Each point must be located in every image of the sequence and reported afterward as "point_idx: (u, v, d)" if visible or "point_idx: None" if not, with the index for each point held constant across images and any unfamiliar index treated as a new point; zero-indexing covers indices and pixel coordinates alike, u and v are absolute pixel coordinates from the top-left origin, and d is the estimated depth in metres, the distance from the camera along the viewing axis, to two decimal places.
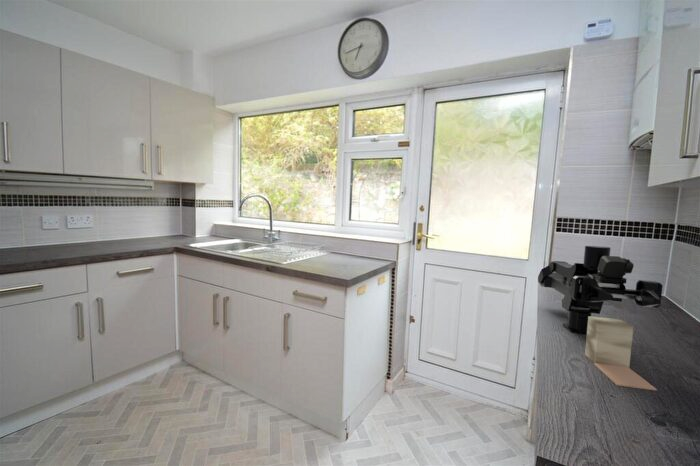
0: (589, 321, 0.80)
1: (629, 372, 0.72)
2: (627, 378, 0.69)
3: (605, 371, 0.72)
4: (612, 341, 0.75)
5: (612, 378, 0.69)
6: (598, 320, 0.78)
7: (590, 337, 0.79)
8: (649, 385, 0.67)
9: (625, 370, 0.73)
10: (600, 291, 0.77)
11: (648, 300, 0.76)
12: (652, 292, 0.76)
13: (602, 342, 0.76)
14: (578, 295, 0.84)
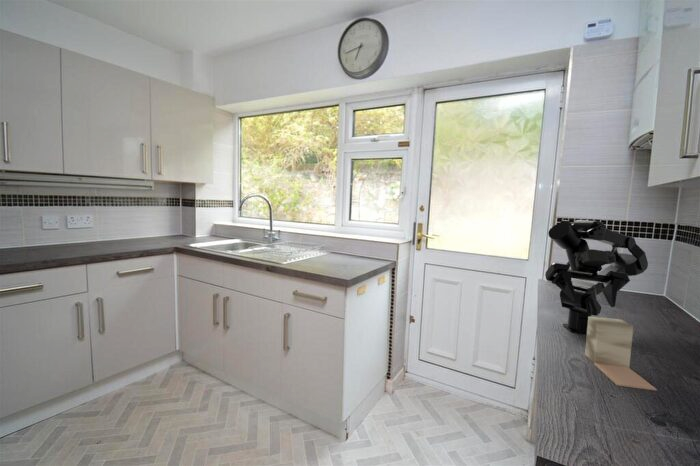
0: (589, 321, 0.80)
1: (629, 372, 0.72)
2: (627, 378, 0.69)
3: (605, 371, 0.72)
4: (612, 341, 0.75)
5: (612, 378, 0.69)
6: (598, 320, 0.78)
7: (590, 337, 0.79)
8: (649, 385, 0.67)
9: (625, 370, 0.73)
10: (569, 288, 0.86)
11: (607, 295, 0.86)
12: (614, 291, 0.84)
13: (602, 342, 0.76)
14: None
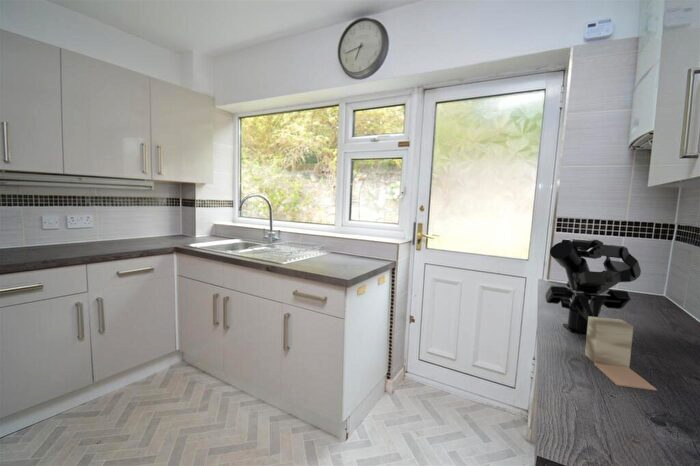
0: (589, 321, 0.80)
1: (629, 372, 0.72)
2: (627, 378, 0.69)
3: (605, 371, 0.72)
4: (612, 341, 0.75)
5: (612, 378, 0.69)
6: (598, 320, 0.78)
7: (590, 337, 0.79)
8: (649, 385, 0.67)
9: (625, 370, 0.73)
10: (587, 313, 0.86)
11: None
12: (596, 309, 0.85)
13: (602, 342, 0.76)
14: None
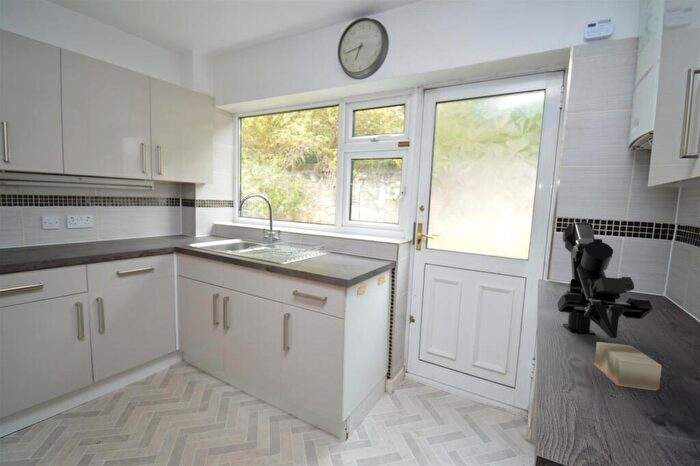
0: (618, 362, 0.68)
1: None
2: None
3: None
4: None
5: (612, 378, 0.69)
6: (625, 374, 0.67)
7: (608, 359, 0.71)
8: None
9: None
10: (605, 324, 0.77)
11: None
12: (615, 320, 0.77)
13: None
14: None
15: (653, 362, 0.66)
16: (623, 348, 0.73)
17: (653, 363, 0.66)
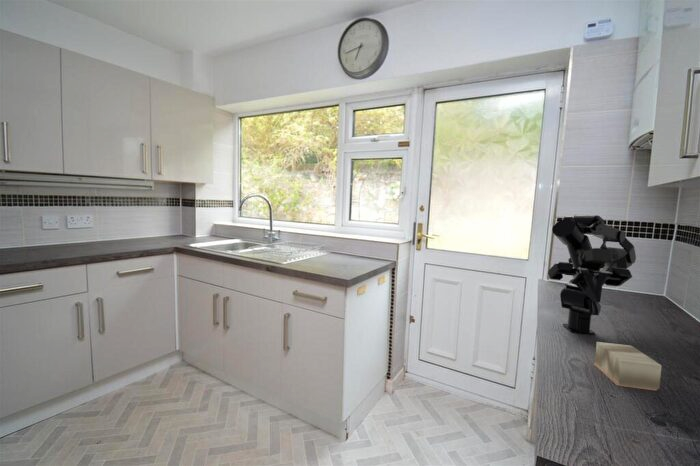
0: (618, 362, 0.68)
1: None
2: None
3: None
4: None
5: (612, 378, 0.69)
6: (625, 374, 0.67)
7: (608, 359, 0.71)
8: None
9: None
10: (590, 290, 0.85)
11: None
12: (600, 286, 0.85)
13: None
14: None
15: (653, 362, 0.66)
16: (623, 348, 0.73)
17: (653, 363, 0.66)
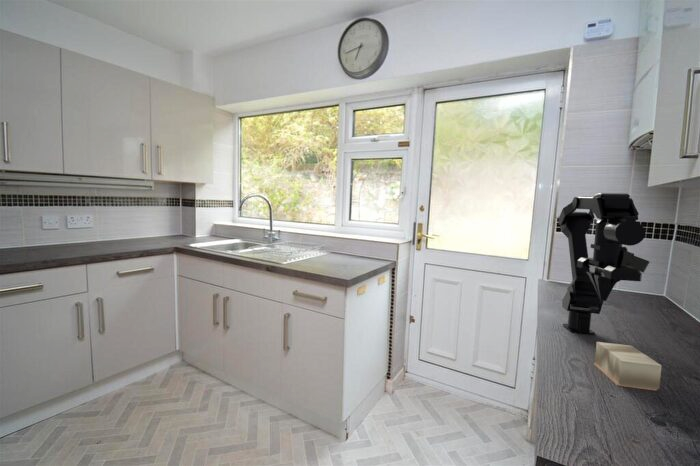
0: (618, 362, 0.68)
1: None
2: None
3: None
4: None
5: (612, 378, 0.69)
6: (625, 374, 0.67)
7: (608, 359, 0.71)
8: None
9: None
10: (609, 290, 0.83)
11: None
12: None
13: None
14: None
15: (653, 362, 0.66)
16: (623, 348, 0.73)
17: (653, 363, 0.66)
